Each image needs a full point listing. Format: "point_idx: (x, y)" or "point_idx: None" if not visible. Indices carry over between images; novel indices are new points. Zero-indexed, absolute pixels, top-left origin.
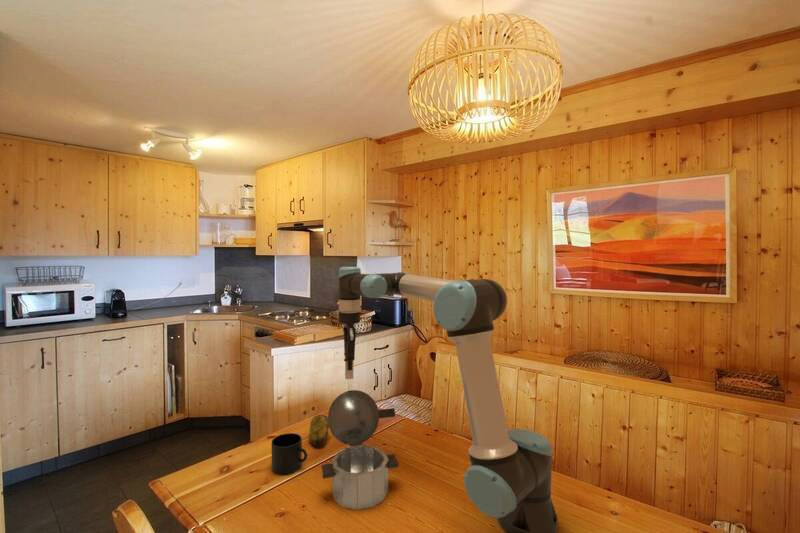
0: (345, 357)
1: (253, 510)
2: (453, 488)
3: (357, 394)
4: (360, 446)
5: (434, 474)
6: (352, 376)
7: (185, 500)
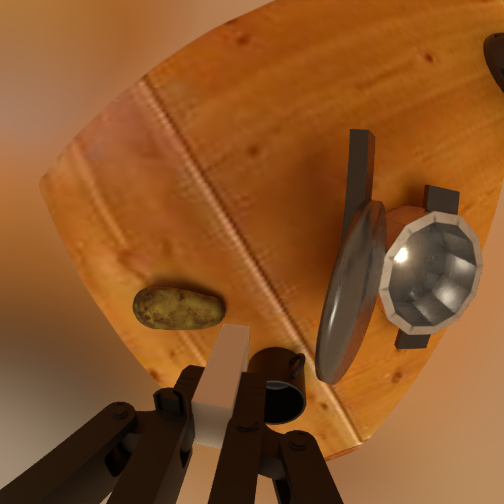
0: (187, 453)
1: (369, 405)
2: (450, 97)
3: (345, 301)
4: (388, 262)
5: (408, 101)
6: (248, 338)
7: None
